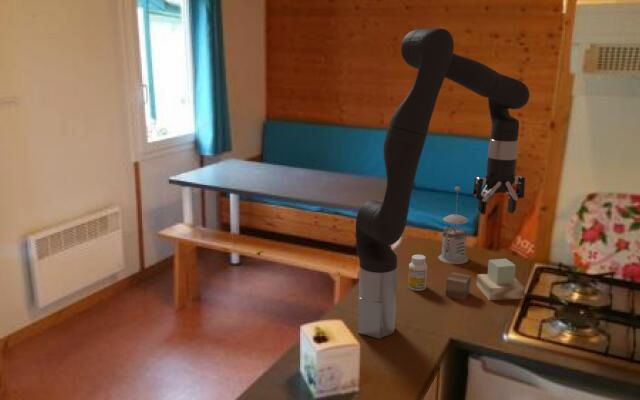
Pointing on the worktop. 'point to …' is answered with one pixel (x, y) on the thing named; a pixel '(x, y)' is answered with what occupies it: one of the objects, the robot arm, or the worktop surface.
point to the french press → (457, 244)
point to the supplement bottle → (417, 273)
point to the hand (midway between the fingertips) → (496, 213)
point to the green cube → (501, 271)
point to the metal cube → (458, 286)
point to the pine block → (499, 289)
